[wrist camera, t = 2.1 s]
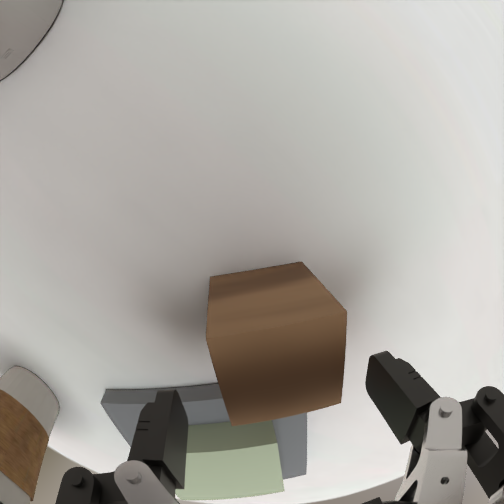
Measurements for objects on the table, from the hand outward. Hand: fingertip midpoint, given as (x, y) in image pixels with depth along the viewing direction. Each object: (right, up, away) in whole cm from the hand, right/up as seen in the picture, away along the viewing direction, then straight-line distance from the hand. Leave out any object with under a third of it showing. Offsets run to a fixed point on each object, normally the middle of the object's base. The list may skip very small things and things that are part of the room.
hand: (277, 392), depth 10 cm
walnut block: (0, +2, +6) cm, 6 cm away
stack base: (-4, -10, +8) cm, 14 cm away
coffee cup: (-20, -7, +6) cm, 22 cm away
